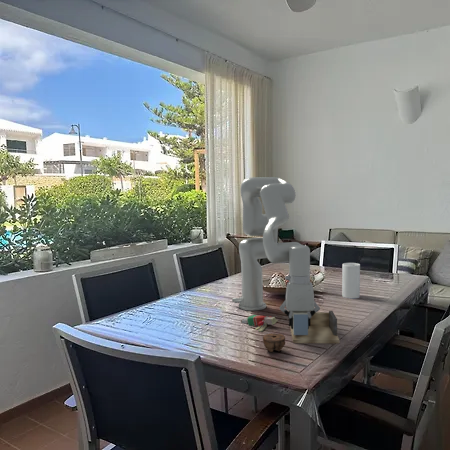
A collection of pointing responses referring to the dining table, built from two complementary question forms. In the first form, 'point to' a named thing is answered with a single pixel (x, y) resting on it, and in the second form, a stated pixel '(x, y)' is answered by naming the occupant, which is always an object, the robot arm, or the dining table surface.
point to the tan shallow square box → (319, 329)
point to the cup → (351, 280)
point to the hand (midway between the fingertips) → (299, 327)
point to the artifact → (274, 341)
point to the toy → (260, 321)
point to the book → (300, 323)
